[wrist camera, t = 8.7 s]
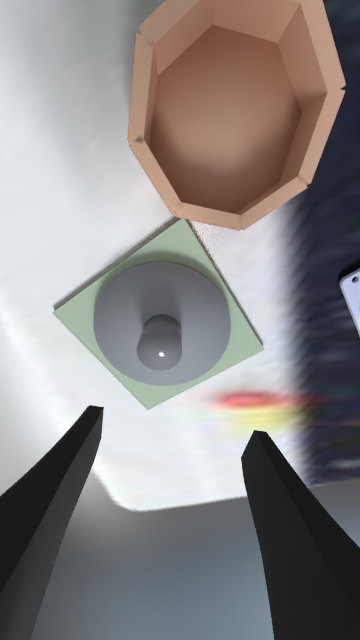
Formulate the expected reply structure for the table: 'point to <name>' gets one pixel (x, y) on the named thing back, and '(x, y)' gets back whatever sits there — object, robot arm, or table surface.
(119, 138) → the table surface
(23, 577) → the robot arm
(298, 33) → the dish
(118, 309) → the lid
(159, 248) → the mat
